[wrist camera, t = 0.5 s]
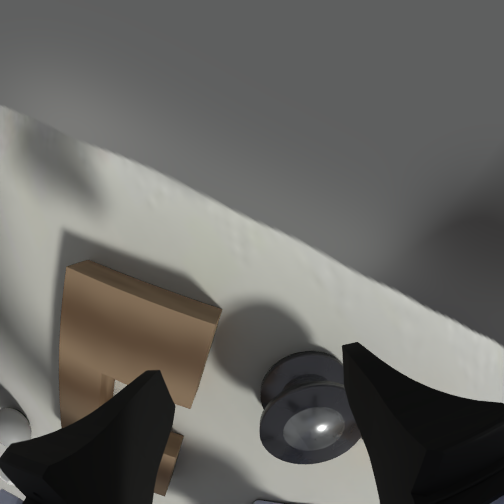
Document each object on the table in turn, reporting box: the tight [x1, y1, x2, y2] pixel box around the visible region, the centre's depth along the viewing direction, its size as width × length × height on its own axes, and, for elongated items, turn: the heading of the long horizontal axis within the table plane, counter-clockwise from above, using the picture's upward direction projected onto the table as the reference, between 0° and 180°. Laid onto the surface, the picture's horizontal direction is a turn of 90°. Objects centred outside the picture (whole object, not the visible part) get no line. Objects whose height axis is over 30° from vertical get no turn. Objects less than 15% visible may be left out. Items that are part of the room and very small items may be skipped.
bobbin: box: [260, 351, 361, 464], centre depth 19 cm, size 7×7×5 cm
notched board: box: [59, 260, 222, 496], centre depth 21 cm, size 20×11×3 cm, turn 162°
